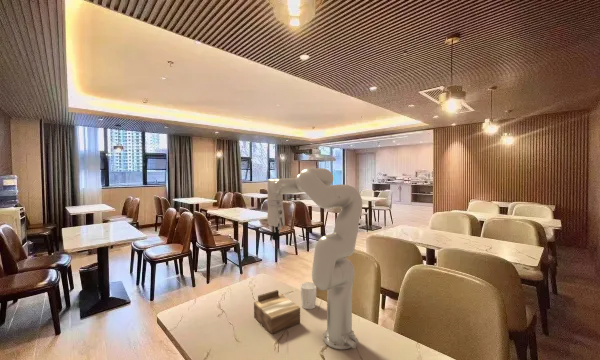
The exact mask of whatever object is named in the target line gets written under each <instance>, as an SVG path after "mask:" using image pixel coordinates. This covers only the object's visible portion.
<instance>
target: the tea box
mask: <svg viewBox="0 0 600 360" xmlns="http://www.w3.org/2000/svg"><path fill="white" fill-rule="evenodd" d="M253 317H254V319H256V321H257V322H258V323H259V324H261V325H260V326H263V328H264V329H265V330H267V332H268V333H269V334H270V335H271V336H272V335H275V334H277V333H280V332H282V331H285V330H287V329H290V328H292V327H294V326H297V325H299V324H301V309H300V310H297V311H294V312H292V313H289V314H286V315H283V316H281V317H278V318H275V319H272V320H271V319H270V318H269V317H268V316H267V315H266V314H264V313H263V312H262V311H261V310H260V309H259V308H258V307H257V306H256V305H255V304H254V303H253Z"/></svg>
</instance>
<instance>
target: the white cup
mask: <svg viewBox="0 0 600 360" xmlns="http://www.w3.org/2000/svg"><path fill="white" fill-rule="evenodd" d="M317 290H318V288H316V286H315V285H314V283H313V282H311V281H309V282H307V281H306V282H303V283H301V284H300V300H301V307H302V308H303V309H305V310H312V309H315V307H316V306H317V305H316V303H317Z"/></svg>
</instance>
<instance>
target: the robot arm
mask: <svg viewBox="0 0 600 360" xmlns="http://www.w3.org/2000/svg"><path fill="white" fill-rule="evenodd" d="M333 182H334V175H333V173H332V172H331V171H330V170H329V169H327V168H322V167H317V168H316V167H315V168H314V167H313V168H311V167H308V168H305V169H303V170H301V172H300V173H299V174H298V175H297V176H296V177H291V178H290V177H288V178H285V177H284V178H269V179H268V180H267V217H266V218H267V224H268V226H269V227H270V230H271V240H272V241H277V240H280V231H281V230H283V227H284V226H285V225H286V223H285V221H286V220H285V219H286V218H285V211H284V204H283V203H284V201H283V199H284V198H283V197H284V195H290V194H301V193H305V194H306V195H307V196H308V197H309V198H310V200H312V201H313V202H314V204H316V205H317V206H318V207H319V208H321V209H325V210H328V209H337V208H341V209H340V211H339V213H338V214H337V216H336V219H335V222H334V223H335V225H334V230H333V232H332V233H329V234H326V235H323V236H321V237H320V238H319V239H318V240H317V241H316V244H315V248H314V253H313V262H312V269H311V279H312V280H311V281H312V283H314V285H315V286H316V288H317V290H319V291H327V292H326V293H327V294H326V330H325V331H324V332H323V334H322V335H323V336H322V339H323V342H324V344H326V345H327V346H328V347H330V348H332V349H335V350H349V349H350V348H352V349H356V348H357V345H358V343H359V339H358V338H357V337H356V334H355V331H354V330H353V329H352V328H353V313H352V312H353V285H354V284H353V283H354V280H355V267H354V264H353V263H352V260H350V259H348V258H349V257H350V256H352V255H353V254H354V252H355V248H356V242H357V237H358V230H359V224H360V220H361V216H362V212H363V199H362V195H361V194H360V192H359V190H358V189H357V188H356V187H354V186H353V185H349V184H333Z"/></svg>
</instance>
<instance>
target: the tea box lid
mask: <svg viewBox="0 0 600 360" xmlns="http://www.w3.org/2000/svg"><path fill="white" fill-rule="evenodd" d="M254 304H255V305H256V306H257V307H258V308H259V309H260V310H261V311H262V312H263V313H264V314H266V315H267V316H268V317H269V318H270V319H271V320H272V319H275V318H278V317H281V316H283V315H286V314H289V313H292V312H294V311H297V310H300V311H301V306H299V305H297V304H296V303H295V302H293V301H292V300H290V299H289V298H288V297H286V296H284V295H283V294H281V293H280V292H279V290H278V289H276V290H273V291H269V292H267V293H263V294H259V295H257V300H256V301H253V305H254Z"/></svg>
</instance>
